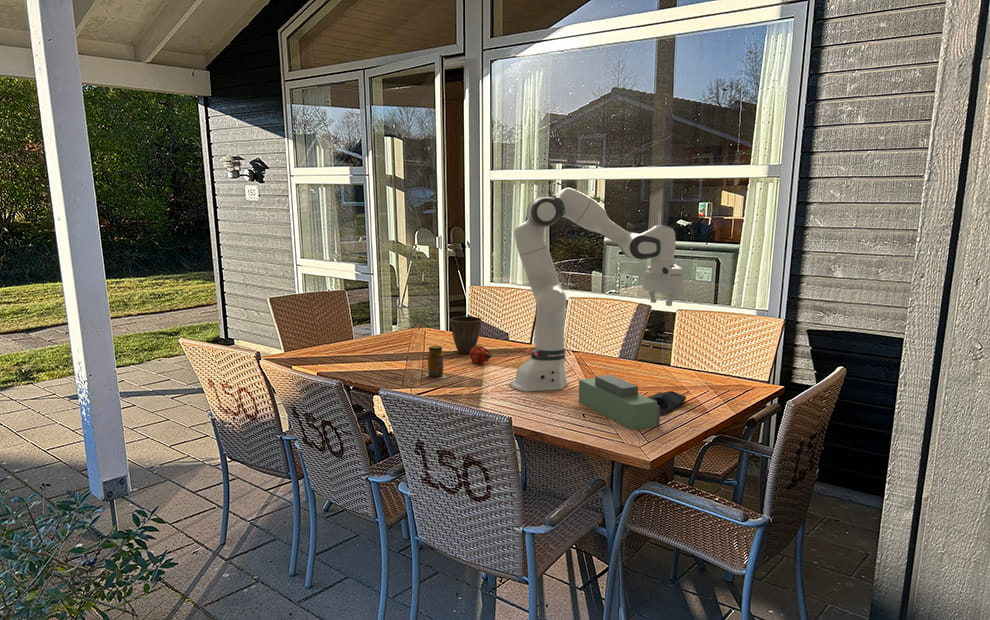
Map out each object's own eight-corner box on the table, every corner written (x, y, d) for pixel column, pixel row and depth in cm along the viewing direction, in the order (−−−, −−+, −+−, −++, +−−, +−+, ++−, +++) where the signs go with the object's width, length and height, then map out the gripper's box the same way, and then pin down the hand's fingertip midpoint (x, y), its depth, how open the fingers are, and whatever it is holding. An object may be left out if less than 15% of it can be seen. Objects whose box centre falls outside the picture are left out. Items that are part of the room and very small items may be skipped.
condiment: (441, 373, 265) (441, 344, 263) (447, 378, 257) (447, 349, 255) (424, 374, 263) (424, 346, 261) (429, 379, 255) (429, 350, 253)
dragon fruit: (471, 363, 289) (488, 372, 280) (460, 354, 283) (477, 363, 274) (482, 347, 290) (498, 355, 281) (470, 338, 284) (487, 347, 276)
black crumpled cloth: (693, 404, 224) (694, 391, 224) (660, 418, 209) (661, 404, 208) (655, 395, 235) (655, 382, 234) (621, 408, 220) (621, 395, 219)
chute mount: (632, 430, 197) (633, 395, 195) (578, 401, 226) (579, 371, 224) (661, 425, 201) (662, 391, 199) (605, 398, 230) (606, 368, 228)
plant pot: (463, 347, 314) (463, 315, 312) (488, 351, 306) (488, 318, 303) (443, 352, 302) (443, 319, 300) (468, 357, 294) (468, 322, 291)
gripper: (639, 266, 252) (638, 301, 254) (672, 270, 233) (671, 308, 236) (652, 265, 254) (651, 300, 257) (686, 270, 236) (684, 307, 238)
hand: (661, 304), depth 246 cm, fingers open, 8 cm apart
